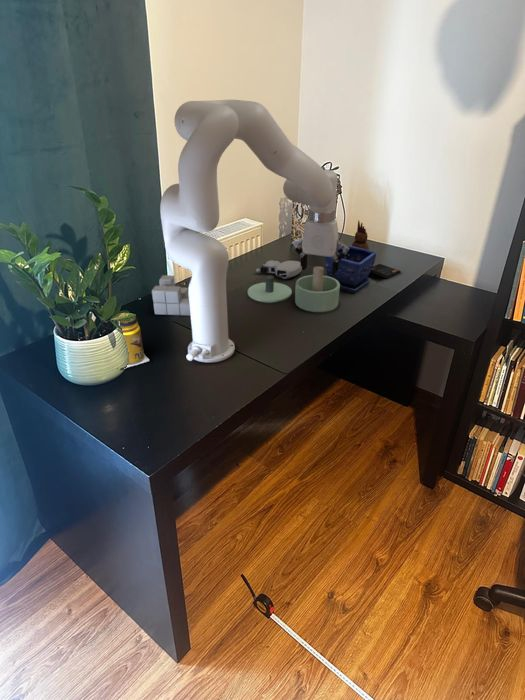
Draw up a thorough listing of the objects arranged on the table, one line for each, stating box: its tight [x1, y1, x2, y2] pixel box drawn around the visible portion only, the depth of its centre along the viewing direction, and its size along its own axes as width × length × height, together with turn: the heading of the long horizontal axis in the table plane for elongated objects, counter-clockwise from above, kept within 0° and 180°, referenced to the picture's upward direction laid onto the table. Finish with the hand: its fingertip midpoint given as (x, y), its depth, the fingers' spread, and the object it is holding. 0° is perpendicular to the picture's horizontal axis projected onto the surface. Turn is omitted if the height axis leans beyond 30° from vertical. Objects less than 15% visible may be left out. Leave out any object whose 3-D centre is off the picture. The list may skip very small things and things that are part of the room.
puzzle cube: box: [151, 274, 191, 317], centre depth 154 cm, size 12×12×8 cm
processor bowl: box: [294, 274, 341, 313], centre depth 156 cm, size 14×14×7 cm
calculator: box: [370, 263, 401, 279], centre depth 178 cm, size 9×12×3 cm
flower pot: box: [324, 244, 377, 294], centre depth 166 cm, size 13×13×12 cm
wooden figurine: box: [351, 220, 370, 261], centre depth 186 cm, size 7×6×15 cm
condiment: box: [120, 315, 150, 369], centre depth 127 cm, size 7×8×12 cm
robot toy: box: [255, 259, 303, 280], centre depth 177 cm, size 12×4×15 cm
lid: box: [247, 275, 293, 303], centre depth 162 cm, size 15×15×6 cm
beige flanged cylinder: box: [312, 266, 325, 292], centre depth 154 cm, size 9×5×12 cm, turn 3°
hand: (319, 270), depth 152 cm, fingers open, 9 cm apart
